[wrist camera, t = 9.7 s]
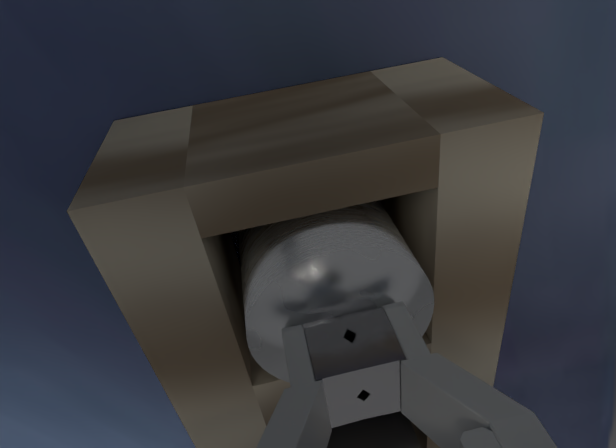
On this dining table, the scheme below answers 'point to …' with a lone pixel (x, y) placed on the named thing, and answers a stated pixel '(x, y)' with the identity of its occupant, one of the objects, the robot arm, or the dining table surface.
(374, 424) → the black knob middle
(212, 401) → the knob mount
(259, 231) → the steel knob
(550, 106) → the dining table surface
